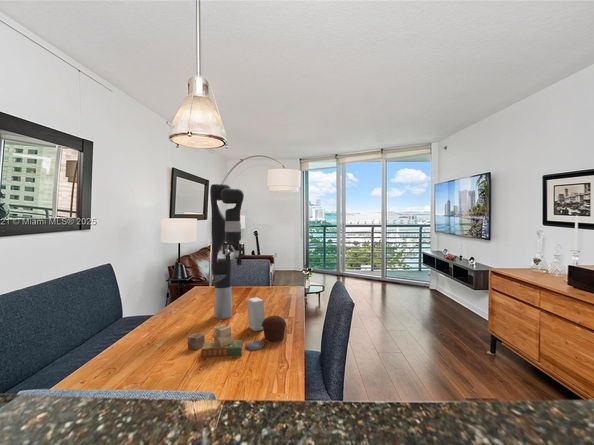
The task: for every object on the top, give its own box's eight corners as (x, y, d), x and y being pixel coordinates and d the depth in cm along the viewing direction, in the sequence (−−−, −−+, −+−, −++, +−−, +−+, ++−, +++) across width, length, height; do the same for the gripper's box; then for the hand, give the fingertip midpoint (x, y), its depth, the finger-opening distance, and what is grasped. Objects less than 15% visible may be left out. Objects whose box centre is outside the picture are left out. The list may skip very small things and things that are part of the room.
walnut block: (187, 348, 135) (187, 337, 135) (195, 344, 140) (195, 333, 140) (197, 350, 133) (196, 338, 133) (204, 345, 138) (204, 334, 138)
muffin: (284, 332, 152) (284, 312, 152) (288, 341, 142) (288, 319, 141) (260, 334, 150) (259, 314, 150) (262, 344, 139) (262, 321, 139)
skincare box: (265, 329, 157) (264, 300, 156) (254, 332, 153) (253, 302, 153) (257, 324, 164) (257, 296, 163) (247, 327, 160) (246, 298, 160)
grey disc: (241, 346, 136) (241, 344, 136) (255, 341, 142) (255, 339, 142) (253, 351, 131) (253, 350, 131) (267, 345, 137) (267, 344, 137)
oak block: (214, 344, 130) (213, 327, 130) (224, 340, 134) (223, 324, 134) (221, 347, 127) (221, 330, 127) (231, 343, 131) (231, 326, 131)
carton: (204, 350, 134) (204, 341, 134) (242, 348, 136) (242, 339, 136) (201, 359, 126) (201, 349, 125) (241, 357, 127) (241, 346, 127)
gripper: (217, 230, 151) (218, 263, 152) (235, 231, 142) (236, 266, 143) (230, 229, 157) (230, 261, 158) (248, 230, 148) (249, 264, 148)
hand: (233, 264), depth 150 cm, fingers open, 8 cm apart
